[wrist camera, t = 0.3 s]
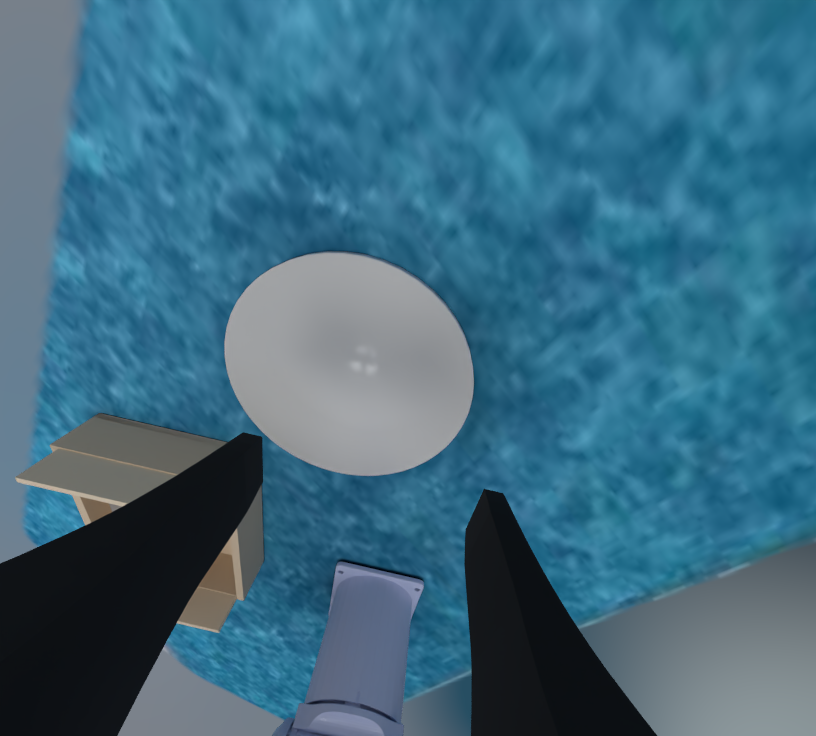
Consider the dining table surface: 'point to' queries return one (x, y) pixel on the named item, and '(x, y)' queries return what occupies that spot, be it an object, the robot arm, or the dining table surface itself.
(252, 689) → the dining table surface
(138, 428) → the wooden tray
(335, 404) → the plate
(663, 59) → the dining table surface
